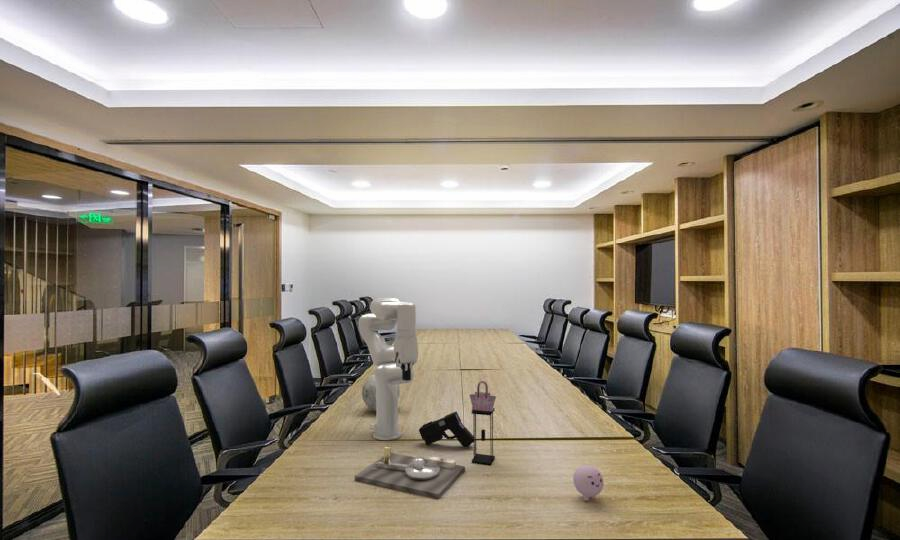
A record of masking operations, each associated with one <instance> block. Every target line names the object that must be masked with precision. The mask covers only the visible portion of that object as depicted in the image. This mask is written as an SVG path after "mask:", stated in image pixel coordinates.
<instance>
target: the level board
mask: <svg viewBox="0 0 900 540" xmlns="http://www.w3.org/2000/svg"><path fill="white" fill-rule="evenodd" d="M414 457H415V456H411V455H405V454H399V453H393V452H391V463H398V464H406V465H408V464H410V463H412V462H413V458H414ZM424 461H432V462H435V463H437V464H438V465H439V466H440V473H439V475H438V476H437V477H435V478H432V479H428V480H414V479H411V478H409V477H407V476H406V474H405V471H403V470H395V469H388V468H386V467H383V466H378V462H382V463H384V455H383V456H382V457H380V458H379V459H378V460H376V461H374V462H373V463H372V464H369V465H368V466H367V467H365V468H364V469H363V470H361V471H360V472H358V473H357V474H355V475H354V481H357V482H362V483H366V484H369V485H374V486H379V487H384V488H389V489H393V490H396V491H401V492H404V493H405V492H406V493H410V494H415V495H419V496H424V497H429V498H432V499H437V500H439V499H440V498H441V497H442V496H443V495H444V494H445V493H446V491H447V490H448V489H450V487H451V486H452V485H453V484H454V483H455V482H456V481H457V480H458V479H459V478H460V476H461V475H463V474H464V472H465V471H466V466H464V465H459V464H457V461H456V460H453V459H447V458H442V457H437V456H436V457H435V456H430V457H428V459H426V458H424Z"/></svg>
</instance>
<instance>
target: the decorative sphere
mask: <svg viewBox="0 0 900 540" xmlns="http://www.w3.org/2000/svg"><path fill="white" fill-rule="evenodd" d="M392 387H393V388H394V390H395V391H396V392H397V394H398V399H399V398H400V394H401V393H400V392H401V389H400V384H396V385H393V386H392ZM361 389H362V390H361V397H362V400H363V402H364V404H365V405H366V406H367V408H368V409H370V410H372V411H374V412H376V384H375V378H374V373H372V374H371V375H369V377H367V379H366V380H365V382H364V384H363V385H362V388H361Z"/></svg>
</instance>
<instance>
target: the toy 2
mask: <svg viewBox="0 0 900 540" xmlns="http://www.w3.org/2000/svg"><path fill="white" fill-rule="evenodd" d="M572 481H573V486H574V487H575V489H576V491H577V492H578V493H579V494H580V495H582V496H583V501H585V502H588V501H589V499H592V500H594V499H596V496H598V495H600V493H601V492H602V491H603V487H604V478H603V475H602V473H601V472H600V471H599V469H598V468H596V467H595V466H594V465H589V464H583V465H580V466H578V467H577V468H576V469H575V471H574V473H573V476H572Z"/></svg>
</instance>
